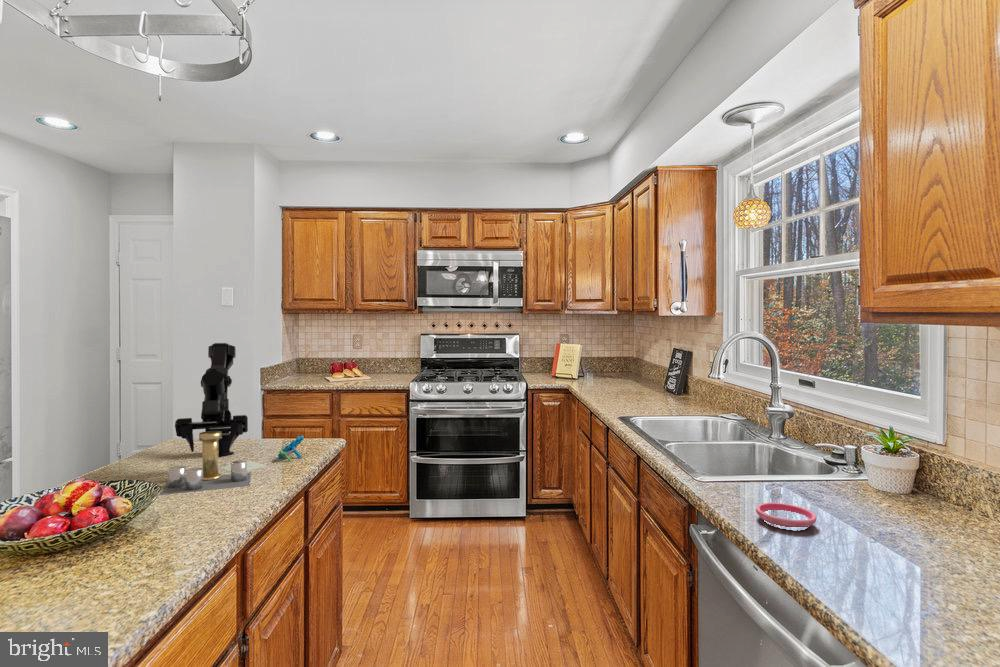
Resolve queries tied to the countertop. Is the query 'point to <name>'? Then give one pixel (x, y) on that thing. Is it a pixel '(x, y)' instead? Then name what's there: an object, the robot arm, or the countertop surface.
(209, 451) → the brass post
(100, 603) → the countertop surface
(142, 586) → the countertop surface
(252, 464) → the pad
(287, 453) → the blue and green figurine
